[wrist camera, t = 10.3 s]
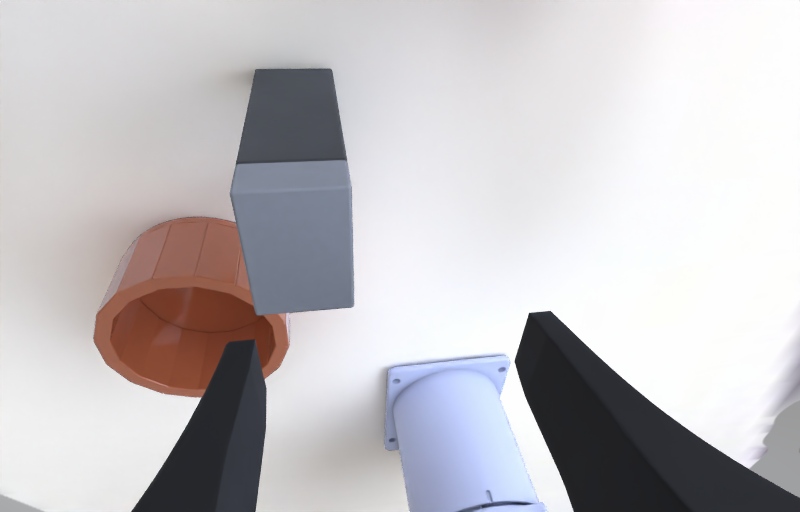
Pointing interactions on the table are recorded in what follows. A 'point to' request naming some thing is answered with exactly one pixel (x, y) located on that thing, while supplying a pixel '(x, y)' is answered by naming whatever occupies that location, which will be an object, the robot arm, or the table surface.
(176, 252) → the holder
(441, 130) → the table surface
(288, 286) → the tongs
